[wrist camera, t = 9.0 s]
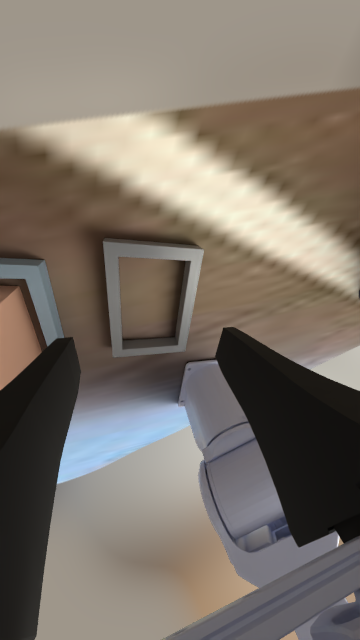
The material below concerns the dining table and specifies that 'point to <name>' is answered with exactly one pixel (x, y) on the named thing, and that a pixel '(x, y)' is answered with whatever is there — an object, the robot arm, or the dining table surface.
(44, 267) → the grey picture frame
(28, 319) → the terracotta block
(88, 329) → the dining table surface
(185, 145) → the dining table surface
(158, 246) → the grey rectangular open frame
